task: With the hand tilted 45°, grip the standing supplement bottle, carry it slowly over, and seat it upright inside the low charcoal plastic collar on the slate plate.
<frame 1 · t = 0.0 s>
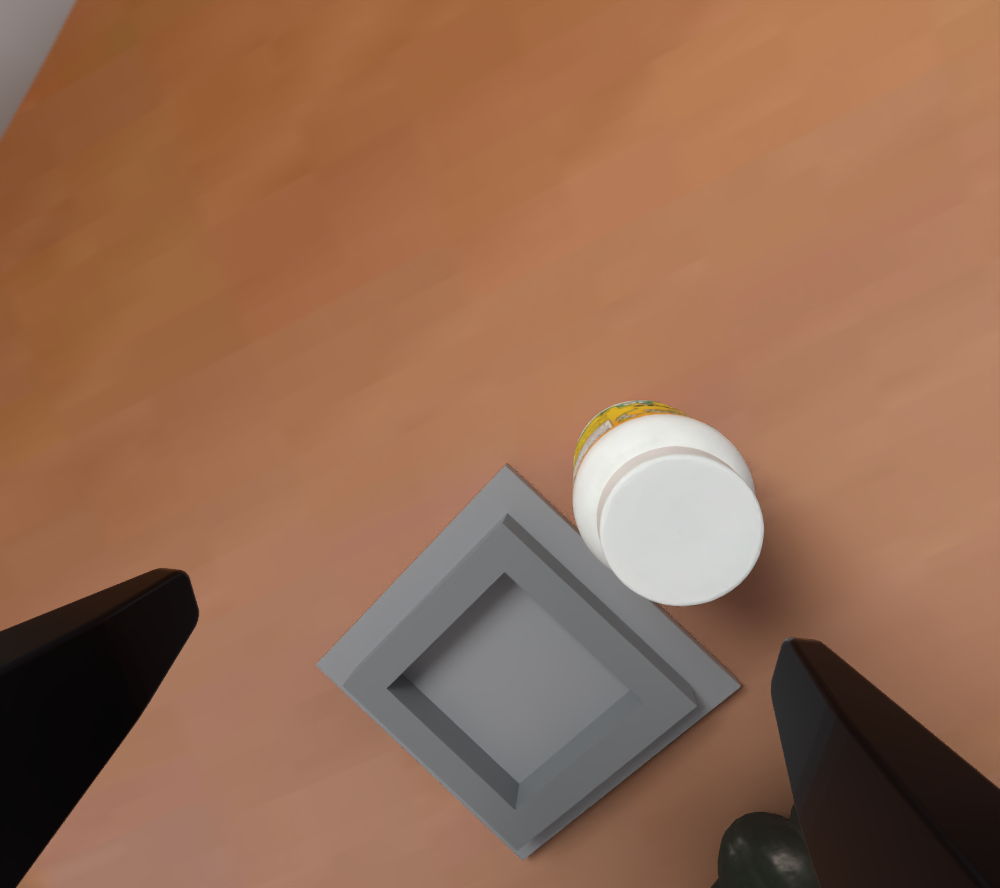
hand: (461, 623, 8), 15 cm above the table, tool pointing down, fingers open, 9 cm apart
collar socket: (516, 667, 25), on the table
squash: (835, 862, 24), on the table
supplement bottle: (637, 460, 23), on the table
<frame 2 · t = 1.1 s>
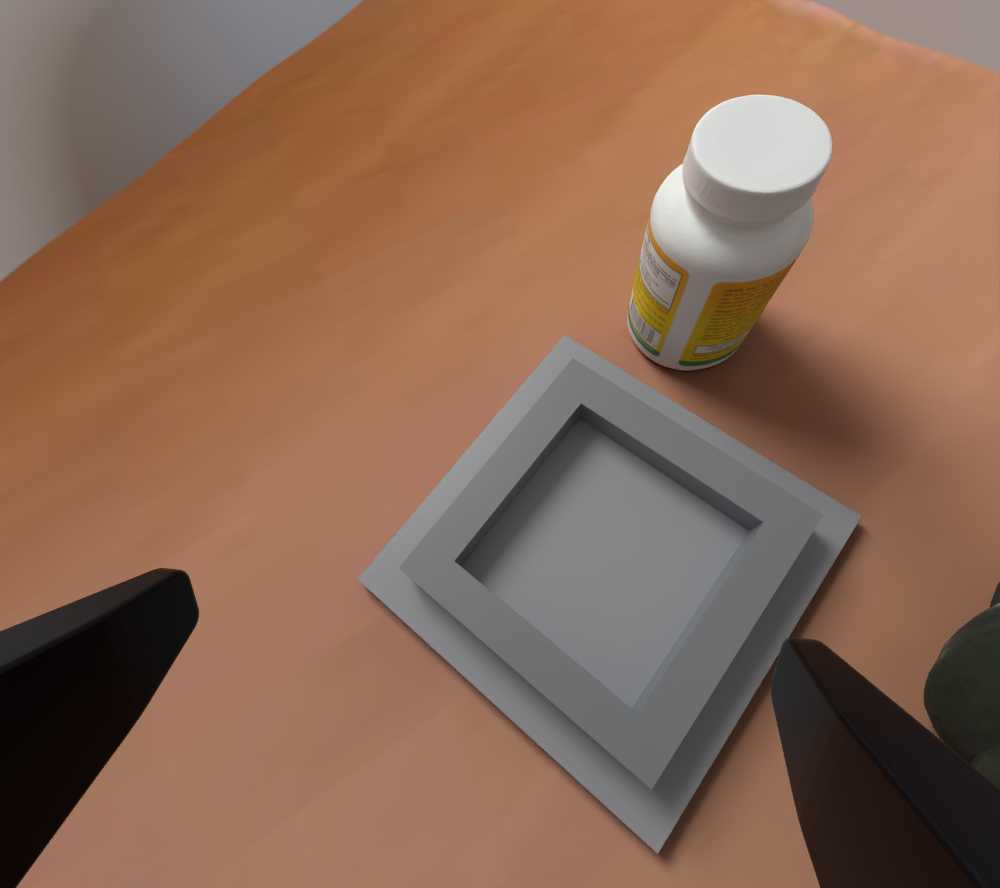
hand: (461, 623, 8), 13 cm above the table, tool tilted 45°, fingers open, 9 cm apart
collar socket: (601, 551, 21), on the table
supplement bottle: (683, 326, 24), on the table
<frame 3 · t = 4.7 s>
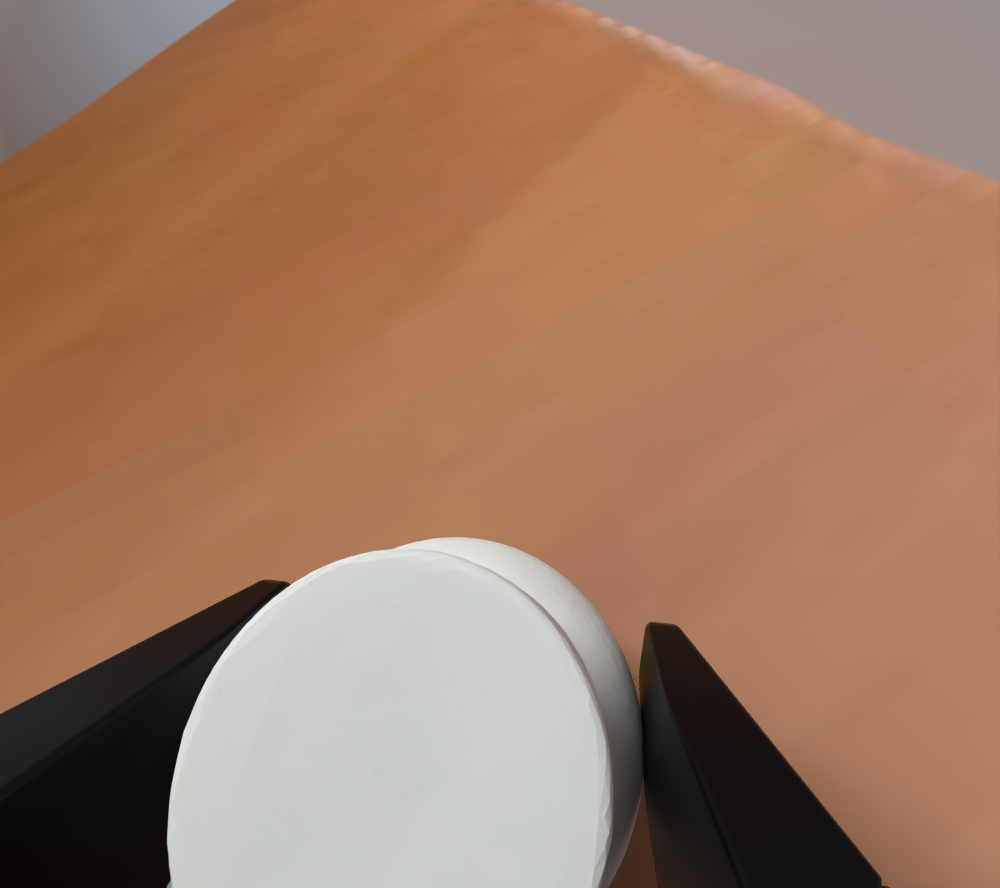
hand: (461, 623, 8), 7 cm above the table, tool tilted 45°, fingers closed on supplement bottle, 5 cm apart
supplement bottle: (500, 692, 14), on the table, touching gripper
when the fingers open (8 cm above the table, at t = 12.2 s): supplement bottle drops 1 cm, resting on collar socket.
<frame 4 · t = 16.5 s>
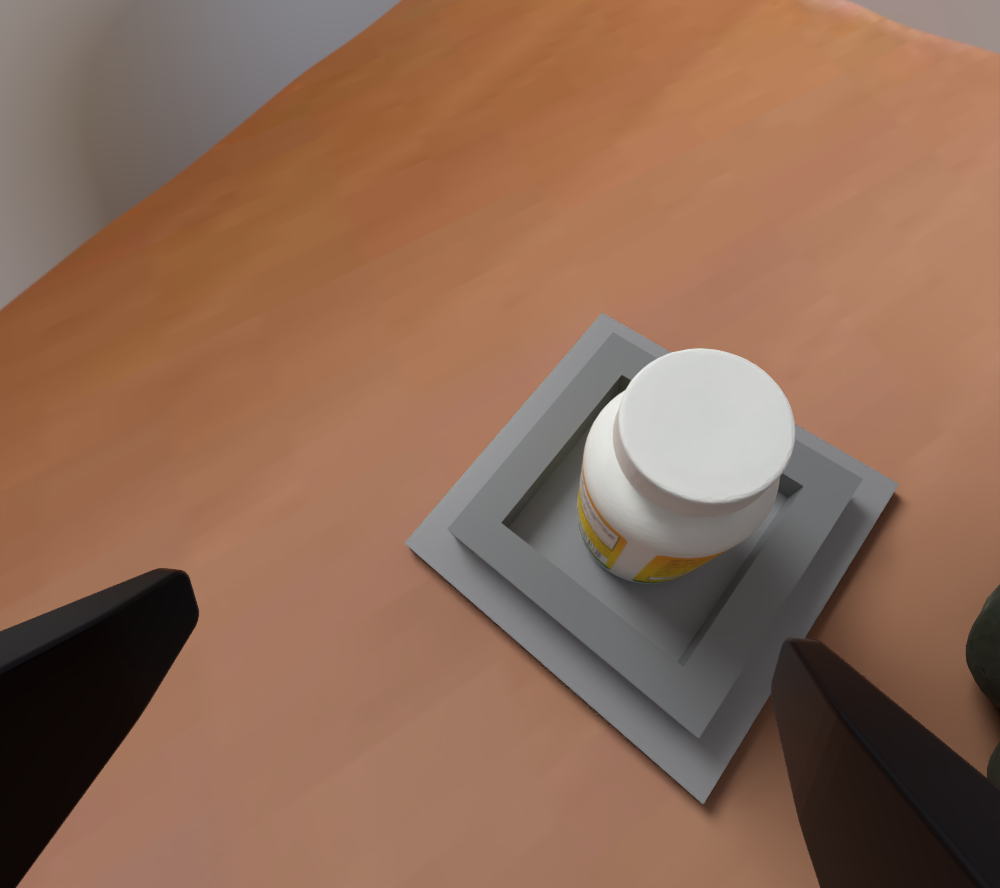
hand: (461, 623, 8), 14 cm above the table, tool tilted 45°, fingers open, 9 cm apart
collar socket: (641, 518, 22), on the table
supplement bottle: (643, 519, 21), resting on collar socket
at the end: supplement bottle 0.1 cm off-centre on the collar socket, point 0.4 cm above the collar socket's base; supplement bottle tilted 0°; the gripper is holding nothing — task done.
